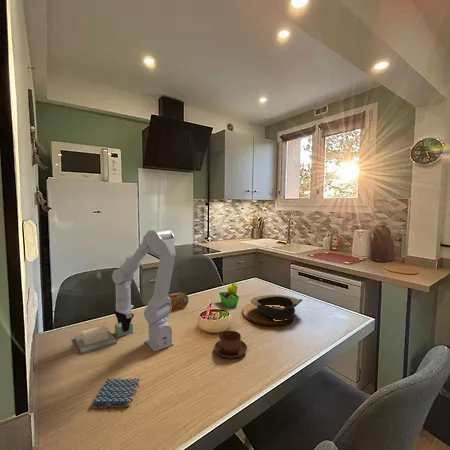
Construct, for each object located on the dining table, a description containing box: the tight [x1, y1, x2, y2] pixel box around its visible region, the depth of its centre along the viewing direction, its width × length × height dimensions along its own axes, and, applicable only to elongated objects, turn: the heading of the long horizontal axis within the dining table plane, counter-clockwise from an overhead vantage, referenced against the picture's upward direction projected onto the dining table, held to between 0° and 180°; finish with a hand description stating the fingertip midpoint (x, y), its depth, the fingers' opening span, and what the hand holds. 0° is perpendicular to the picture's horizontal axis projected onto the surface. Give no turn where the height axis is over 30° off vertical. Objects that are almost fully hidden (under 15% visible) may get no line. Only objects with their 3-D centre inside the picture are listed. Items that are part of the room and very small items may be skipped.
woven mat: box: [90, 378, 140, 409], centre depth 73 cm, size 10×11×2 cm
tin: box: [168, 291, 189, 313], centre depth 133 cm, size 15×3×8 cm, turn 125°
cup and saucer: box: [213, 330, 248, 359], centre depth 95 cm, size 12×12×6 cm
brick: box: [114, 321, 134, 338], centre depth 108 cm, size 4×6×4 cm, turn 129°
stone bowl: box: [250, 294, 303, 320], centre depth 129 cm, size 25×25×9 cm
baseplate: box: [73, 325, 117, 356], centre depth 101 cm, size 14×12×4 cm
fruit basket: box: [218, 282, 240, 308], centre depth 141 cm, size 11×9×11 cm
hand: (123, 329), depth 108 cm, fingers open, 4 cm apart
